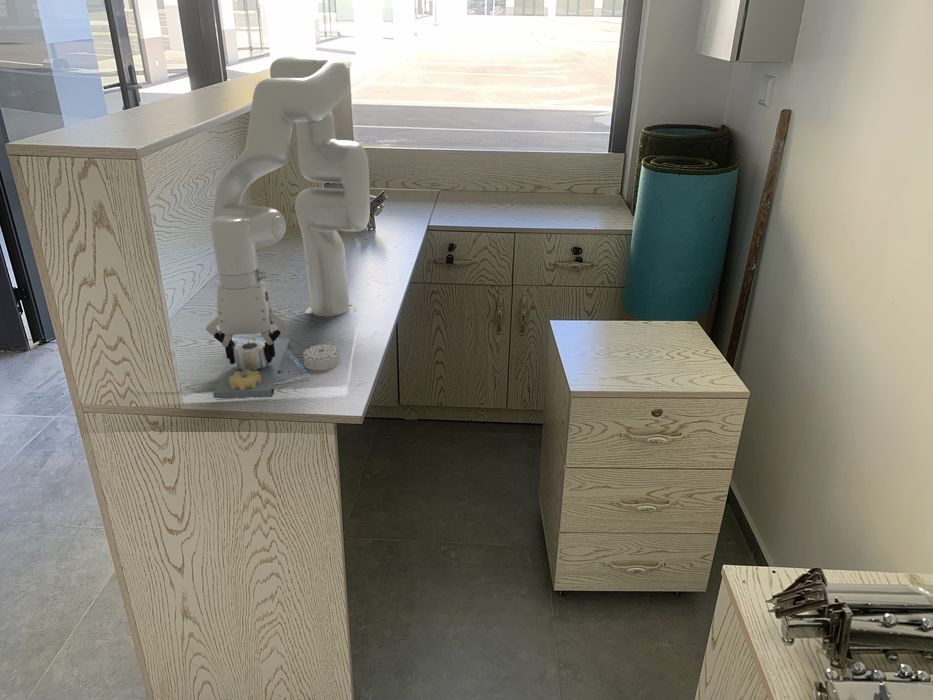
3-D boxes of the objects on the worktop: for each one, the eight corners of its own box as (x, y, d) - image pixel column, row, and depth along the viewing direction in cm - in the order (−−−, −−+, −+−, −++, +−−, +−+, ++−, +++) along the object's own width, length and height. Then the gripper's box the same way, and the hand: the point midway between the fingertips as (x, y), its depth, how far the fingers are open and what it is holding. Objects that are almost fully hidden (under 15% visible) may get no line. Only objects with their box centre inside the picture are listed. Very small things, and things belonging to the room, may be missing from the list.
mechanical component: (344, 379, 142) (349, 358, 152) (342, 360, 141) (348, 340, 150) (295, 380, 142) (304, 359, 151) (292, 361, 140) (301, 341, 149)
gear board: (241, 346, 157) (238, 328, 155) (290, 344, 158) (288, 326, 156) (214, 399, 135) (210, 378, 133) (271, 396, 135) (268, 376, 134)
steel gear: (238, 357, 147) (236, 339, 145) (272, 355, 147) (270, 338, 146) (231, 371, 141) (228, 353, 139) (266, 370, 141) (264, 352, 140)
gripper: (287, 271, 140) (297, 351, 148) (199, 274, 139) (213, 354, 147) (281, 283, 134) (291, 366, 141) (188, 286, 132) (204, 370, 140)
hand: (251, 360), depth 144 cm, fingers closed on steel gear, 6 cm apart
